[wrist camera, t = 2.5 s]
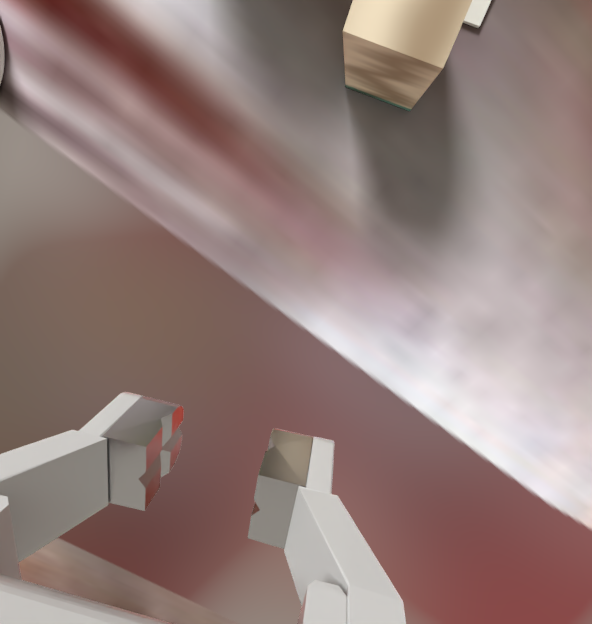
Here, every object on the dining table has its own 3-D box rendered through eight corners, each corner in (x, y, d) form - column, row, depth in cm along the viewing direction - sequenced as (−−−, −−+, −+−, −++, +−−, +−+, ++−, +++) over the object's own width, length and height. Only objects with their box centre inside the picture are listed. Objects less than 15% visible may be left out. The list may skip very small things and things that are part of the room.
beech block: (345, 87, 31) (342, 30, 20) (373, 6, 29) (388, -108, 18) (409, 111, 31) (442, 68, 20) (442, 32, 29) (500, -67, 18)
